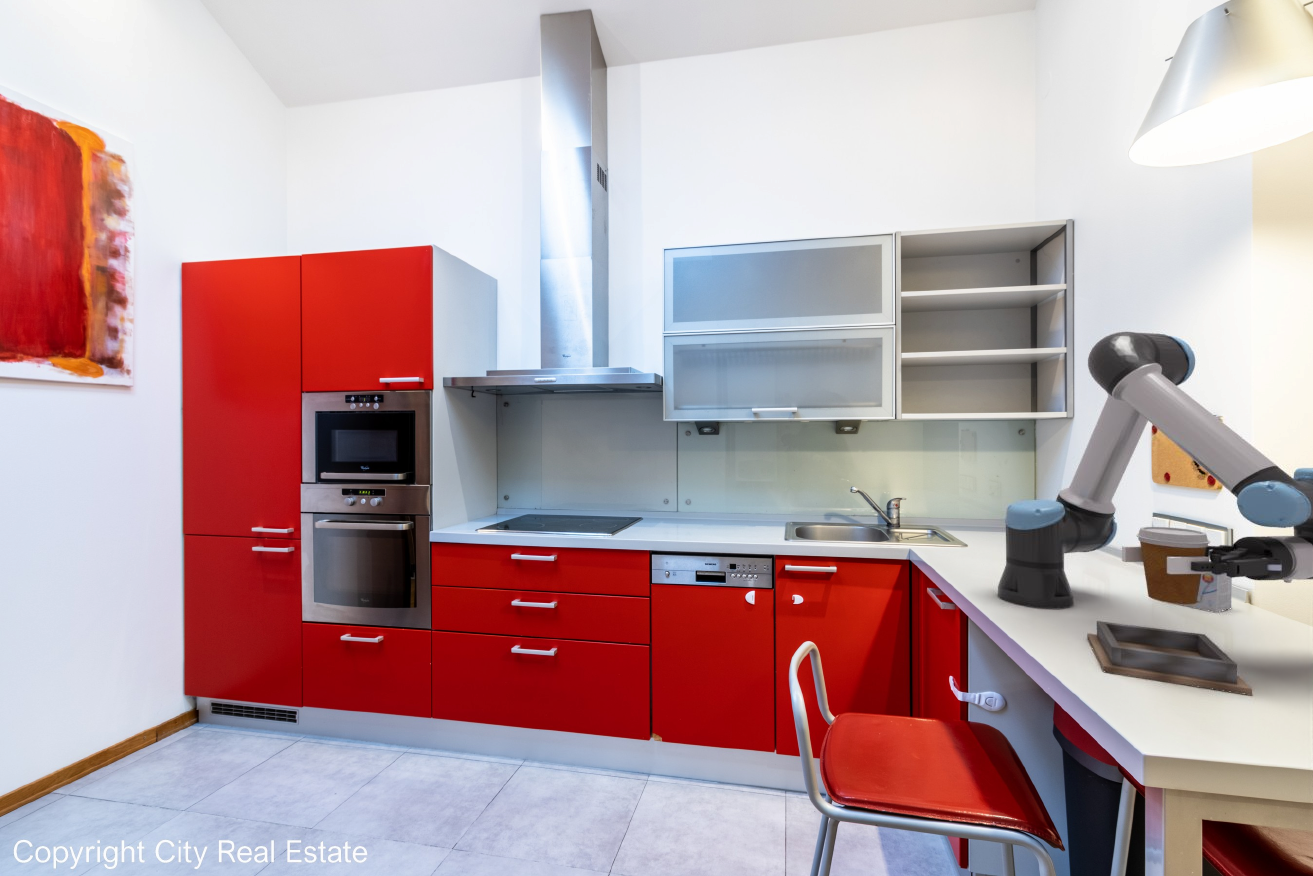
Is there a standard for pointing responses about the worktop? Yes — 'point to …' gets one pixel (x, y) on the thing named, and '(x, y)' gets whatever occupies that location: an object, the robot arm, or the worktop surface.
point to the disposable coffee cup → (1155, 552)
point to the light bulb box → (1214, 592)
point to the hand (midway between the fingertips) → (1145, 559)
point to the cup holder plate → (1165, 656)
